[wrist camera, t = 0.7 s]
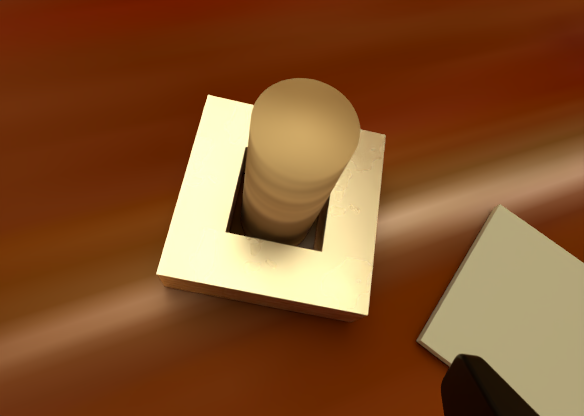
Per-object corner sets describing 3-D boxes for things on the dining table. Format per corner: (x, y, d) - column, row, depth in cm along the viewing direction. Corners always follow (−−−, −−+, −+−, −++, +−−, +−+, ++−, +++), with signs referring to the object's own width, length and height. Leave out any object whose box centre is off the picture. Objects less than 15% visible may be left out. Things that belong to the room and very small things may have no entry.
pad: (576, 463, 23) (585, 465, 22) (415, 341, 24) (420, 340, 23) (635, 307, 26) (644, 305, 26) (493, 207, 27) (499, 204, 27)
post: (304, 258, 24) (353, 185, 15) (233, 243, 24) (239, 161, 15) (315, 193, 26) (365, 91, 17) (248, 179, 26) (262, 67, 16)
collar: (350, 322, 24) (368, 315, 21) (164, 286, 23) (156, 274, 20) (369, 159, 27) (385, 135, 25) (209, 124, 27) (208, 94, 24)
